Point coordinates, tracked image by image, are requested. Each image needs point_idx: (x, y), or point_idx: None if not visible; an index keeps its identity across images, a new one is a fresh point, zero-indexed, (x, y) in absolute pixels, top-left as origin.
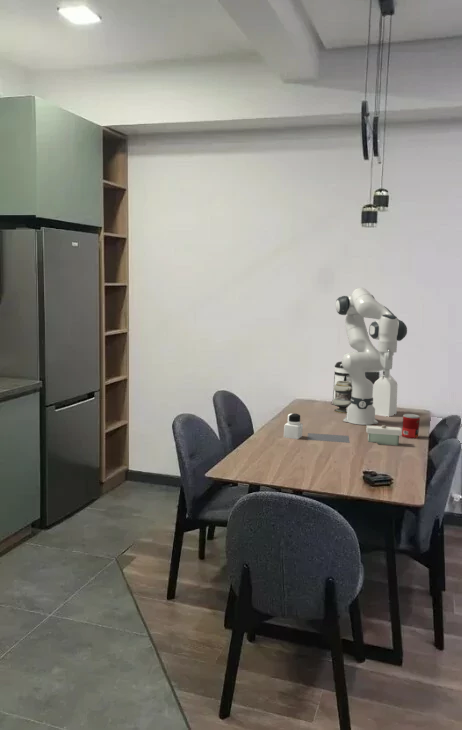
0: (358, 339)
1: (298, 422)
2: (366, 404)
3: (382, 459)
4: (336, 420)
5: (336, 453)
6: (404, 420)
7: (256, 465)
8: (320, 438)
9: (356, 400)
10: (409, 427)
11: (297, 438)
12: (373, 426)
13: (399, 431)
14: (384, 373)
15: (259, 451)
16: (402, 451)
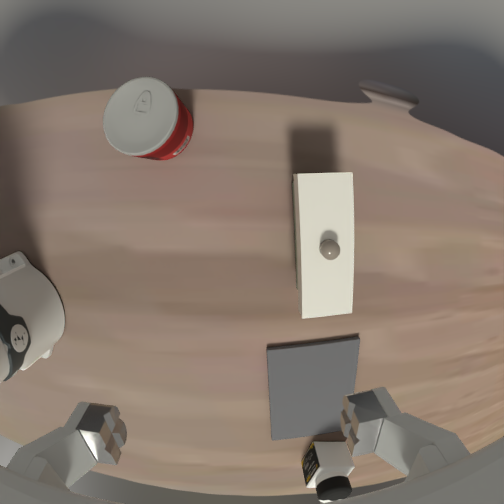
0: None
1: (343, 474)
2: (12, 323)
3: (479, 241)
4: (51, 371)
5: (445, 349)
6: (163, 149)
7: (491, 424)
8: (328, 410)
9: (16, 365)
10: (185, 128)
11: (346, 445)
12: (314, 291)
13: (351, 181)
14: (115, 434)
15: None
16: (400, 175)
